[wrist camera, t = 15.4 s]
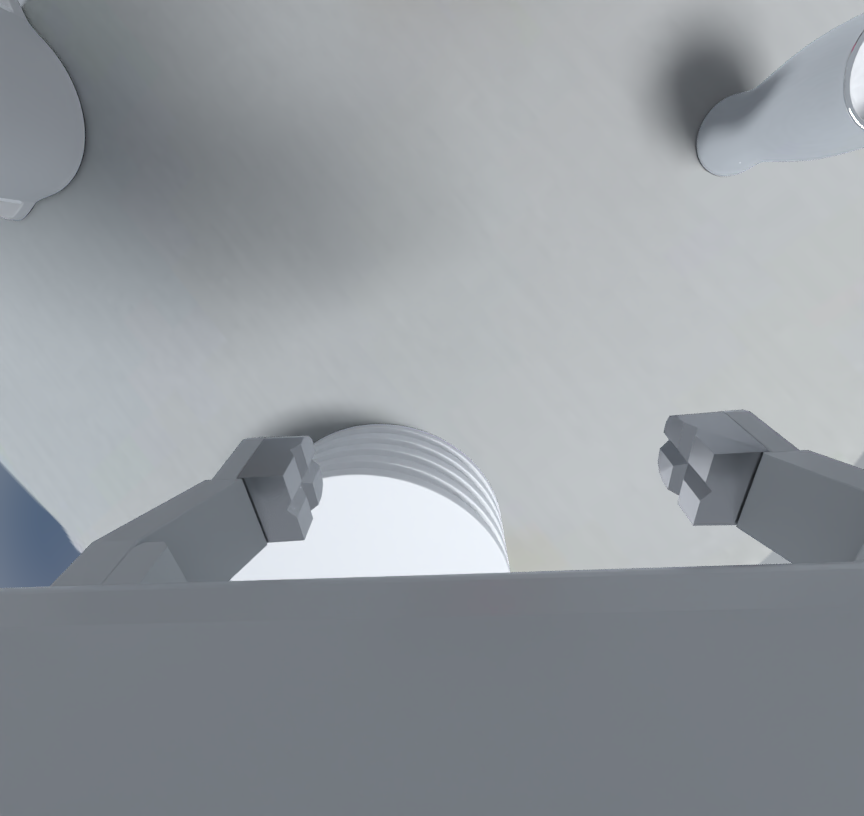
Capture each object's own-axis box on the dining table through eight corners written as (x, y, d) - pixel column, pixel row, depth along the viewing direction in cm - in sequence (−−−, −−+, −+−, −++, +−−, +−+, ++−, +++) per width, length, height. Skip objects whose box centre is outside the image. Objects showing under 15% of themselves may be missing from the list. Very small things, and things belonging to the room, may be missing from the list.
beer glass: (680, 117, 35) (828, 29, 21) (766, 68, 34) (986, -60, 20) (702, 197, 37) (852, 167, 23) (785, 155, 36) (997, 95, 22)
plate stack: (299, 391, 46) (252, 435, 35) (536, 465, 48) (560, 527, 37) (260, 579, 56) (214, 657, 45) (458, 634, 58) (458, 722, 47)
